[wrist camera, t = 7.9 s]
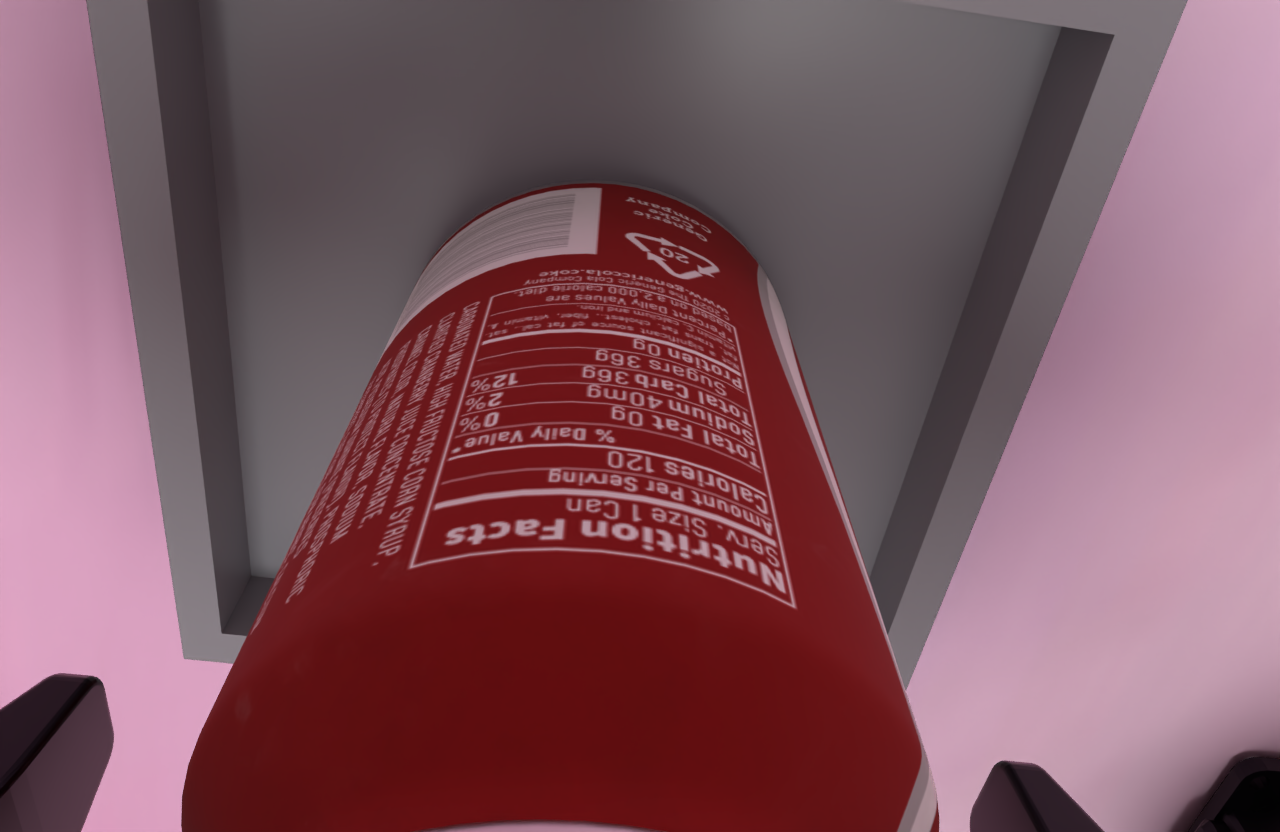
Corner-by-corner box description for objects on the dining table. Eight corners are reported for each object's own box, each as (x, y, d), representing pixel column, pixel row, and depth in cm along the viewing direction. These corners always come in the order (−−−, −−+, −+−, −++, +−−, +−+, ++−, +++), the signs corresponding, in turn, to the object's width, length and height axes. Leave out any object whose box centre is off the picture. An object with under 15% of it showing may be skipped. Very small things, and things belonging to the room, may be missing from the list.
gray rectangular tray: (1114, -40, 15) (1195, -20, 13) (866, 639, 22) (891, 724, 20) (146, -198, 14) (56, -205, 11) (228, 575, 21) (184, 658, 19)
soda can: (347, 228, 16) (-147, 911, 6) (736, 115, 15) (959, 691, 5) (488, 531, 19) (332, 1300, 9) (813, 454, 19) (1040, 1213, 8)
